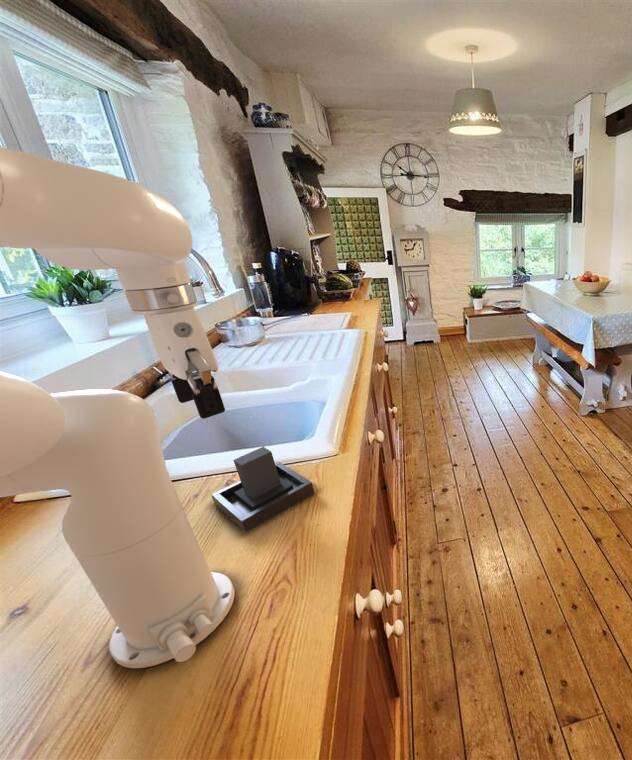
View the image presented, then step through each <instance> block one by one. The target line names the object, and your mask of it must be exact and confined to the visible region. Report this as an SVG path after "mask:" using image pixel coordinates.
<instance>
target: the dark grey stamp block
mask: <svg viewBox="0 0 632 760" xmlns="http://www.w3.org/2000/svg"><path fill="white" fill-rule="evenodd" d="M233 463H234V466H235V469H236V472H237V475H238V477H239V481H240V480H241V483H242V486H243V488H242V489H240V490H238V491H236V492H234V493H235V496H236V498H237V499H238V500H240V501H241V502H242V503H243V504H244V505H246V506H247V507H248V508H249V509H251V510H252V511H255V510H256V509H258V508H260V507H262V506H264V505H266V504H267V503H269V502H271V501H273V500H275V499H276V498H278V497H280V496H282V495H284V494H286V493H287V492H289V491H291V490H293V486H292V485H291V484H290V483H288V482H287V481H285V480H284V479H282V478H281V477H279V475H278V472H277V468H276V465H275V463H276V462H275V459H274V455H273V453H272V450H269V449H268V448H266V447H265V446H262V447H259V448H257V449H255V450H252V451H250V452H248V453H245V454H244V455H241V456H239V457H237V458H235V459H233Z"/></svg>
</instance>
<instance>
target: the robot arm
mask: <svg viewBox="0 0 632 760" xmlns="http://www.w3.org/2000/svg"><path fill="white" fill-rule="evenodd" d="M0 248H9V249H11V248H13V249H34V250H35V252H36V253H37V254H38V255H39V256H41V257H42V258H44V259H45V260H47V261H49V262H50V263H52V264H54V265H56V266H59V267H62V268H65V269H70V270H78V271H98V270H115V272H116V274H117V277H118V279H119V282H120V284H121V288H122V289H123V292H124V295H125V298H126V300H127V302H128V305H129V308H130V310H131V313H132V314H133V315H137V316H138V315H140V316H143V317H144V320H145V324H146V326H147V329H148V332H149V335H150V338H151V341H152V344H153V345H154V348H155V351H156V354H157V356H158V358H159V360H160V362H161V365H162V366H163V368H164V369H165V370H166V371H167V372H168V375H169V376H170V381H171V385H172V387H173V390H174V392H175V395H176V398H177V401H178V402H179V403H181V404H184V403H188V402H191V401H193V402H194V405H195V407H196V410H197V413H198V415H199V418H200V419H202V420H206V419H208V418H211V417H214V416H217V415H220V414H222V413H225V412H226V408H225V404H224V401H223V398H222V395H221V392H220V389H219V387H218V384H217V382H216V379H215V378H214V376H212V372H213V373H217V372H218V370H219V368H220V366H219V363H218V361H217V359H216V356H215V354H214V351H213V347H212V346H211V343H210V341H209V338H208V336H207V333H206V330H205V328H204V326H203V323H202V321H201V319H200V317H199V315H198V313H197V311H196V309H195V308H196V307H197V306H199V302H198V299H197V296H196V294H195V293H196V292H195V290H194V286H193V284H192V281H191V278H190V275H189V273H188V269H187V266H186V262H185V260H186V259H187V258H188V257H189V256H190V254H191V253H192V249H193V236H192V232H191V229H190V227H189V224H188V223H187V221H186V220H185V218H184V217H183V215H182V213H180V211H178V209H177V208H176V207H175V206H173V204H171V203H170V202H169V201H167V200H166V199H165V198H164V197H162V196H160V195H158V194H157V193H155V192H153V191H151V190H150V189H148V188H147V187H145V186H143V185H141V184H139V183H137V182H135V181H131V180H129V179H127V178H124V177H120V176H118V175H115V174H111V173H108V172H104V171H101V170H96V169H92V168H88V167H85V166H80V165H76V164H71V163H68V162H63V161H60V160H56V159H52V158H49V157H46V156H41V155H38V154H33V153H29V152H24V151H20V150H16V149H11V148H6V147H3V146H0ZM166 463H167V462H166V460H165V456H164V451H163V446H162V438H161V431H160V425H159V421H158V418H157V415H156V413H155V410H154V409H153V407H152V406H151V405H150V404H149V403H148V402H147V401H146V399H144V398H142V397H140V396H138V395H136V394H134V393H130V392H129V391H123V390H116V389H83V390H73V391H64V392H63V391H62V392H55V393H50V392H48V391H47V390H45V389H44V388H43V387H41V386H39V385H37V383H33V382H32V381H29V380H27V379H26V378H22V377H20V376H17V375H16V374H15V375H14V374H12V373H11V374H10V373H7V372H4V371H1V370H0V498H5V497H13V496H18V495H19V496H20V495H26V494H33V493H39V492H49V491H51V492H52V491H58V490H63V491H67V492H68V493H69V494H70V498H71V499H70V502H69V504H68V506H67V509H66V511H65V512H64V515H63V518H62V523H61V529H62V535H63V537H64V540H65V543H67V545H68V547H69V549H70V551H71V552H72V553H73V555H74V557H75V558H76V560H77V561H78V563H79V565H80V566H81V568H82V570H83V571H84V573H85V575H86V576H87V578H88V580H89V582H90V583H91V585H92V586H93V588H94V589H95V592H96V593H97V595H98V596H99V598H100V599H101V602H102V603H103V605H104V606H105V608H106V609H107V612H108V614H109V615H110V616H111V618H112V620H113V621H114V623H115V625H116V626H115V628H114V630H113V632H112V633H111V636H110V639H109V643H108V647H109V653H110V655H111V657H112V658H113V660H114V661H115V663H116V664H118V665H119V666H121V667H123V668H127V669H144V668H149V667H153V666H157V665H160V664H163V663H166V662H169V661H170V660H173V659H174V660H175V662H176V663H183V662H186V661H188V660H189V659H191V658H192V657H193V656H194V654H195V652H196V651H197V645H199V643H201V642H202V641H204V640H205V639H206V638H207V637H209V635H210V634H212V633H213V632H214V631H215V630H216V629H217V628H218V626H219V625H220V624H221V623H222V622H223V621H224V619H225V618H226V617H227V615H228V614H229V612H230V610H231V608H232V606H233V604H234V600H235V588H234V585H233V582H232V581H231V579H230V578H229V577H228V576H227V575H226V574H223V573H220V572H216V571H211V569H210V567H209V564H208V563H207V560H206V558H205V556H204V553H203V550H202V548H201V546H200V544H199V541H198V540H197V537H196V535H195V533H194V530H193V528H192V525H191V523H190V521H189V518H188V516H187V514H186V512H185V510H184V507H183V505H182V503H181V500H180V499H179V496H178V494H177V492H176V489H175V486H174V484H173V480H172V479H171V477H170V474H169V470H168V467H167V464H166Z"/></svg>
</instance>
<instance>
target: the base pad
mask: <svg viewBox="0 0 632 760" xmlns="http://www.w3.org/2000/svg"><path fill="white" fill-rule="evenodd" d="M275 465H276V468H277V472H278V475H279V477H281V478H282V479H284V480H285V481H287V482H288V483H290V484H291V485H292V486H293V490H291V491H289V492H287V493H286V494H284V495H282V496H280V497H278V498H276V499H275V500H273V501H271V502H269V503H267V504H266V505H264V506H262V507H260V508H258V509H256V510H255V511H252V510H251V509H249V508H248V507H247V506H246V505H244V504H243V503H242V502H241V501H240V500H238V499H237V498H236V496H235V493H234V492H236V491H238V490H240V489H242V488H243V486H242V483H241V480H240V479H239V480H238V481H235V482H234V483H232V484H230V485H228V486H226V487H223V488H222V489H220V490H218V491H216V492H213V493H211V494H210V495H211V498H212V501H213V504H214V505H215V506H216V507H217V508H218V509H219V510H220V511H221V512H222V513H223V514H225V515H226V516H227V518H229V519H230V520H231V521H232V522H234V524H236V525H237V526H238V527H239V528H240V529H241V530H242V531H244V533H247V532H249V531H251V530H252V529H254V528H256V527H257V526H259V525H261V524H263V523H264V522H266V521H268V520H269V519H271V518H274V516H275V517H276V516H277V515H279V514H280V513H282V512H283V511H286V510H287V509H289V508H291V507H292V506H294V505H295V504H297V503H299V502H301V501H303V500H304V499H306V498H308V497H309V496H311V495H313V494H315V490H314V485H313V482H312V481H311V480H309V479H307V478H305V477H304V476H303V475H301V474H299V473H297V472H296V471H295V470H293V469H291V468H290V467H288V466H287V465H285V464H283V463H282V462H281V461H277V462H275Z"/></svg>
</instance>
